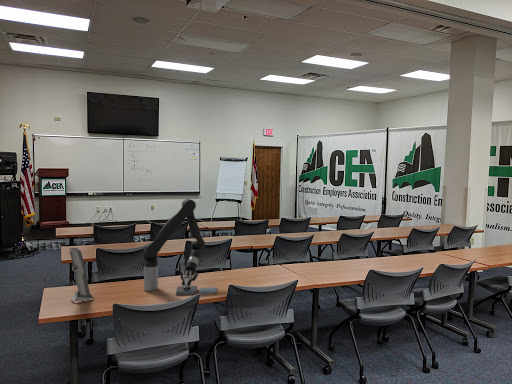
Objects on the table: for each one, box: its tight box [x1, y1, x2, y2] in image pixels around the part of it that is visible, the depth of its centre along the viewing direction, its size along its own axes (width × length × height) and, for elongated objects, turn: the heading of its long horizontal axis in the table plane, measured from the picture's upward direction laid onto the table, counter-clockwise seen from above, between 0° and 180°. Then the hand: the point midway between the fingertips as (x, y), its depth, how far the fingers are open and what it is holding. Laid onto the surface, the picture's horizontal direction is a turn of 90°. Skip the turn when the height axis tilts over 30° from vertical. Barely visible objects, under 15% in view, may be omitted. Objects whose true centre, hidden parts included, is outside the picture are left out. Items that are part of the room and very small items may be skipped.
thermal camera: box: [68, 247, 95, 301], centre depth 251 cm, size 12×13×35 cm
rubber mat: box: [199, 286, 218, 295], centre depth 269 cm, size 12×12×1 cm
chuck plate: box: [175, 285, 198, 296], centre depth 267 cm, size 14×12×2 cm
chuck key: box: [183, 274, 190, 290], centre depth 267 cm, size 4×4×12 cm
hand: (185, 285), depth 265 cm, fingers closed on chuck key, 3 cm apart
